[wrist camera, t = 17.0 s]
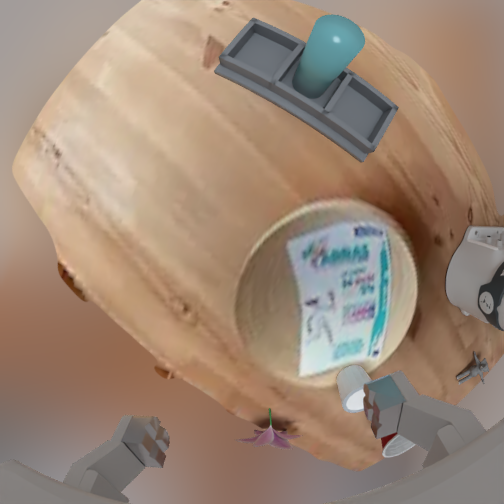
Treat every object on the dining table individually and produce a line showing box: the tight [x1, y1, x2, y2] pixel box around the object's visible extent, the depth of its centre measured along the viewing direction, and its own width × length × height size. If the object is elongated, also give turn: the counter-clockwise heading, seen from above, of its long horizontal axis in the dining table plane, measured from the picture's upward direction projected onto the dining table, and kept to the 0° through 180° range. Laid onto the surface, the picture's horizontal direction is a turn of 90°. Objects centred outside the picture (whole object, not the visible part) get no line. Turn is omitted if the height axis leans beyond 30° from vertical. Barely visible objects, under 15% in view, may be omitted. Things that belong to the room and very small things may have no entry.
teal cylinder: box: [292, 15, 365, 99], centre depth 25 cm, size 5×5×15 cm
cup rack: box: [214, 18, 399, 162], centre depth 31 cm, size 25×11×4 cm, turn 58°
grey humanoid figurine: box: [457, 351, 489, 385], centre depth 44 cm, size 10×6×9 cm
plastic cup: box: [381, 432, 415, 457], centre depth 42 cm, size 11×11×12 cm
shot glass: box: [337, 365, 372, 413], centre depth 42 cm, size 7×7×7 cm
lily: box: [236, 408, 303, 449], centre depth 44 cm, size 12×12×10 cm
